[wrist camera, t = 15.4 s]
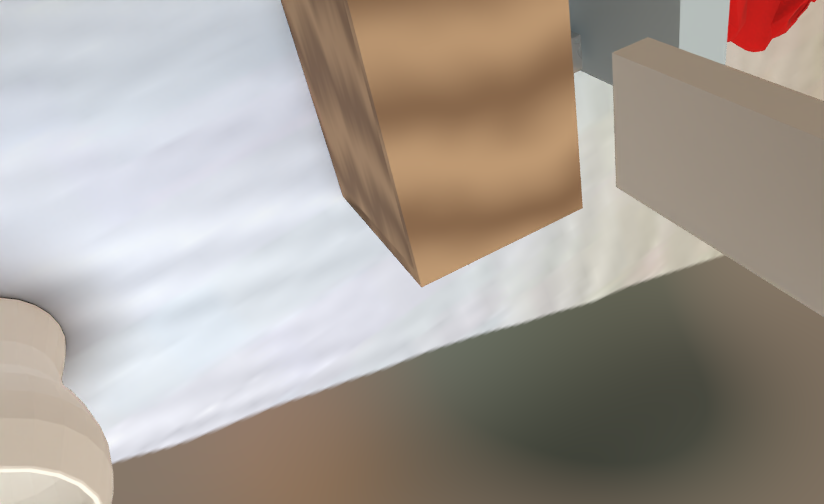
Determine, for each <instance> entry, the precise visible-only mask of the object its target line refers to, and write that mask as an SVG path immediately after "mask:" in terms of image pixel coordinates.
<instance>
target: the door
mask: <svg viewBox="0 0 824 504" xmlns="http://www.w3.org/2000/svg"><path fill="white" fill-rule="evenodd" d="M729 6H730V0H569V14H570V29H571V31H573V32H575V33H578V34H580V35H581V49H582V66H583V69H582V70H581V71H583V72H585V73H587V74H589V75H591V76H594V77H596V78H598V79H600V80H602V81H604V82H606V83H609V84H611V85H613V70H612V52H615V51H617V50H619V49H621V48H624V47H626V46H628V45H631V44H633V43H635V42H638V41H640V40H642V39H645V38H647V37H649V38H652V39H655V40H657V41H660V42H663V43H666V44H668V45H671V46H674V47H677V48H679V49H682V50H685V51H687V52H690V53H693V54H696V55H698V56H701V57H704V58H707V59H709V60H712V61H715V62H718V63H720V64H723V65H725V61H726V48H727V34H728V20H729Z"/></svg>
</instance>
